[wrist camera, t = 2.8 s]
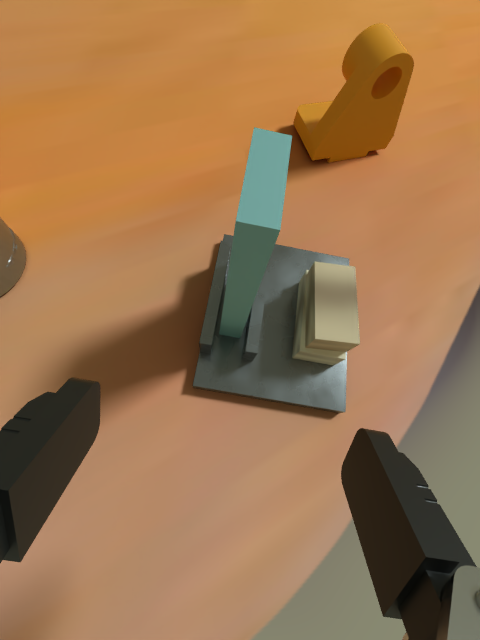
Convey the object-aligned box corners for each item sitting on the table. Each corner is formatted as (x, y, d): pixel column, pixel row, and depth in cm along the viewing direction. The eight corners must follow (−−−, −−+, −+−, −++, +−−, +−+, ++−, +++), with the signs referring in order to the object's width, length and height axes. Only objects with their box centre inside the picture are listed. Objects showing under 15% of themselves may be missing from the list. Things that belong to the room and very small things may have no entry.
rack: (339, 413, 28) (361, 409, 24) (193, 387, 28) (191, 379, 24) (344, 264, 34) (362, 242, 30) (223, 241, 34) (226, 215, 30)
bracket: (358, 116, 44) (412, 5, 32) (382, 153, 41) (447, 49, 30) (289, 125, 41) (321, 10, 30) (310, 165, 39) (352, 57, 28)
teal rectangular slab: (240, 338, 29) (280, 230, 14) (218, 334, 28) (235, 221, 14) (249, 281, 31) (292, 135, 16) (229, 277, 31) (254, 127, 16)
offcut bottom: (333, 365, 29) (345, 359, 26) (291, 358, 28) (299, 350, 26) (337, 289, 32) (347, 277, 29) (298, 282, 31) (306, 269, 29)
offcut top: (346, 352, 26) (359, 343, 24) (305, 347, 26) (315, 338, 24) (343, 280, 29) (355, 266, 27) (305, 275, 29) (314, 261, 26)
